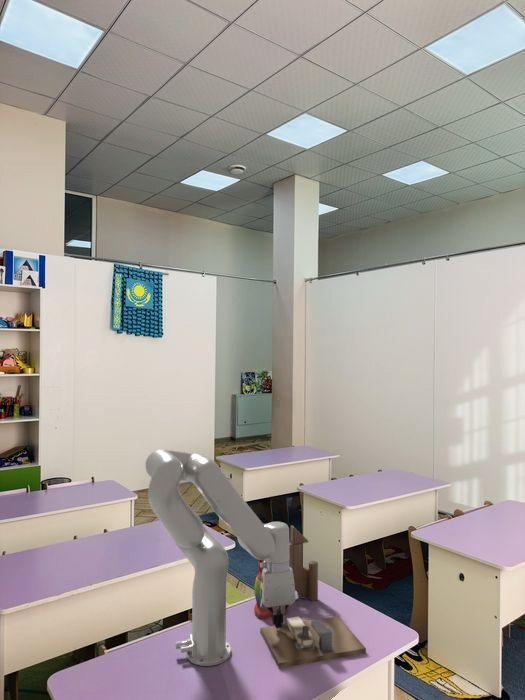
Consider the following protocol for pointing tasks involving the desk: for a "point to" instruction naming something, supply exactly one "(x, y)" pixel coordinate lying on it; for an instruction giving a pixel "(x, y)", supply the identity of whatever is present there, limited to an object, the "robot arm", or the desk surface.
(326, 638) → the keeper
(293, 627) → the link
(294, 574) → the wooden toy
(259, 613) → the stacking bear
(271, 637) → the base board
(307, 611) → the desk surface
